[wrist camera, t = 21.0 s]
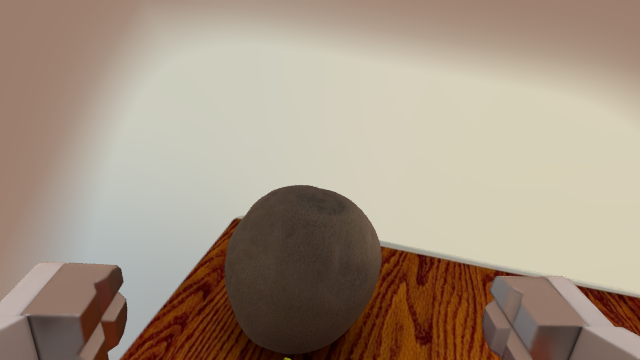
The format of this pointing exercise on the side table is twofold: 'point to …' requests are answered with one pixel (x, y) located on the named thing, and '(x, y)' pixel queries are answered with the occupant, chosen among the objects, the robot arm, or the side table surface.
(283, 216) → the coconut
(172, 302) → the side table surface
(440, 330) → the side table surface
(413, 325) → the side table surface
